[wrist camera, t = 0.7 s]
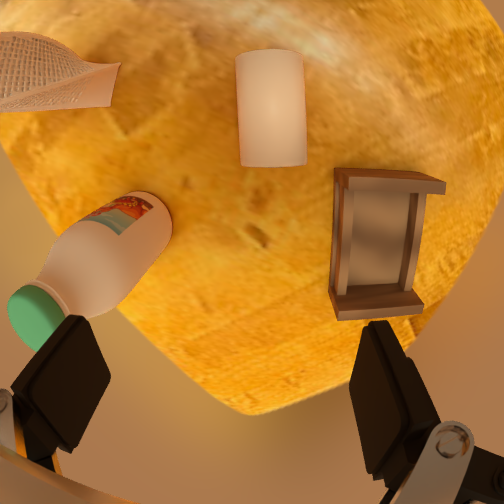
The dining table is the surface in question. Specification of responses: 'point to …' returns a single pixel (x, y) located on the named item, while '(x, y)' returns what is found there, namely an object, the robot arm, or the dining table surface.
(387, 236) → the cradle
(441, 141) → the dining table surface
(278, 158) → the roll
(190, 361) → the dining table surface
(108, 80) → the skyscraper
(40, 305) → the milk bottle
